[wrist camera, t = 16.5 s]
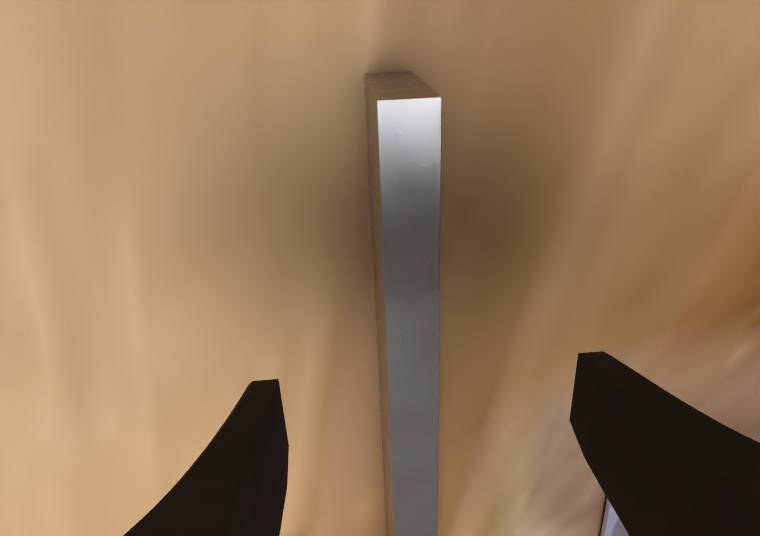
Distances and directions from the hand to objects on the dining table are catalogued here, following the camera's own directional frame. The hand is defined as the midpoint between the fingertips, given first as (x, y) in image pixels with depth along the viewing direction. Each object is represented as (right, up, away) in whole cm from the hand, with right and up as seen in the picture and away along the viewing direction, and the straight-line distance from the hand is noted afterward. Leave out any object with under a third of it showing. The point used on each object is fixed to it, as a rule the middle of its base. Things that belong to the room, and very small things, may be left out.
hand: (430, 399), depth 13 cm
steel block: (0, -2, +12) cm, 12 cm away
